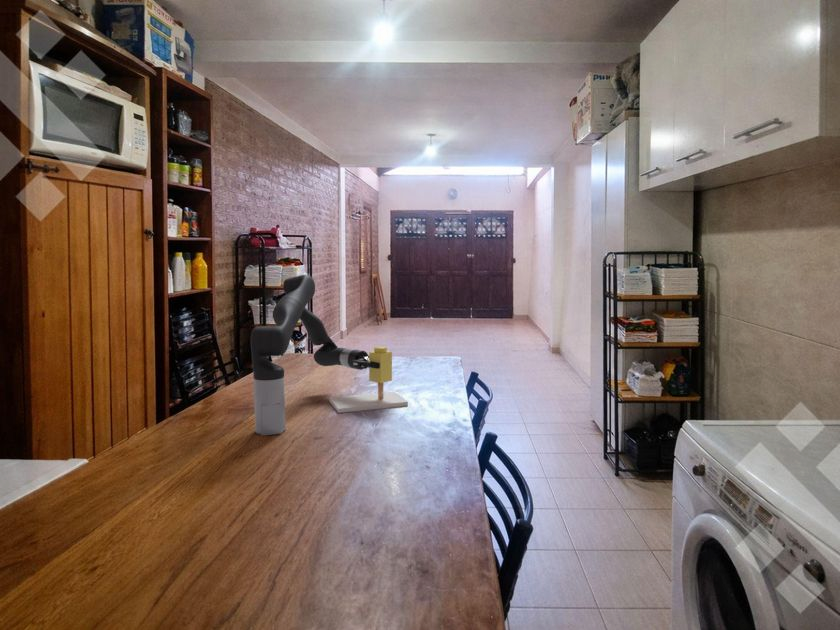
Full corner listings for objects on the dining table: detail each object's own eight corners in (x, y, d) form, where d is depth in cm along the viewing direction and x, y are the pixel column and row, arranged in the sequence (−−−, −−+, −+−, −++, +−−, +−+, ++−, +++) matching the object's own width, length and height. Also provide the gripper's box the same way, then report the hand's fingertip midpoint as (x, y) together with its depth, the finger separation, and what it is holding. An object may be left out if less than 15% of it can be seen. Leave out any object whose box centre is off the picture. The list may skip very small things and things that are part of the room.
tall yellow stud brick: (391, 380, 198) (391, 347, 197) (380, 383, 194) (380, 349, 192) (380, 378, 202) (380, 345, 201) (369, 380, 197) (369, 347, 196)
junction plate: (407, 405, 194) (407, 385, 193) (338, 412, 185) (337, 392, 184) (394, 395, 209) (394, 376, 208) (329, 401, 200) (329, 382, 199)
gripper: (340, 351, 200) (371, 357, 190) (366, 347, 211) (398, 351, 201) (340, 371, 201) (371, 377, 190) (367, 365, 212) (398, 371, 201)
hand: (385, 364), depth 196 cm, fingers closed on tall yellow stud brick, 6 cm apart
